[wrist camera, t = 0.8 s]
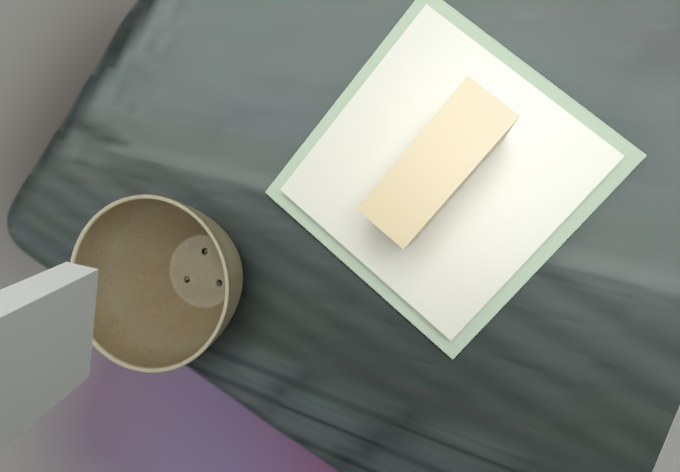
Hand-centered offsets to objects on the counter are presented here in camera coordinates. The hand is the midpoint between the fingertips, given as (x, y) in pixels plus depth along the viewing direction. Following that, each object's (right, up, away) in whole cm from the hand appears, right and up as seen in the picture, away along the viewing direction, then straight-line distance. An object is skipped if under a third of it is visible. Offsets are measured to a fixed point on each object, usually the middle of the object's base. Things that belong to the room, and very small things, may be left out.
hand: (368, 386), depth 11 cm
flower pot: (-10, +1, +23) cm, 25 cm away
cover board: (+5, +7, +19) cm, 21 cm away
